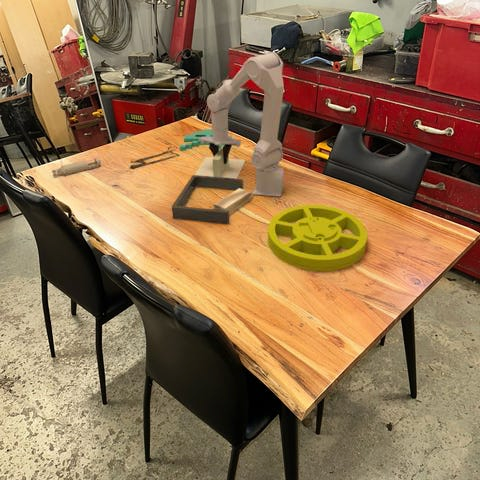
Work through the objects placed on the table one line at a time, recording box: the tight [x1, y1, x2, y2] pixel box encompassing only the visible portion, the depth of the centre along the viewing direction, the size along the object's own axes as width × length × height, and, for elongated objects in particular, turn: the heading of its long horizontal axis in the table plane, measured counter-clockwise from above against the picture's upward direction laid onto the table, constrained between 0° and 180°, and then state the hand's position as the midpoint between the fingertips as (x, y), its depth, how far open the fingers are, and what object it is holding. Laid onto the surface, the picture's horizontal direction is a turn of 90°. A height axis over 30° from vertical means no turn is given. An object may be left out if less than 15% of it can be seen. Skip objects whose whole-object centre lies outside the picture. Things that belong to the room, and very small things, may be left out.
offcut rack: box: [171, 174, 244, 225], centre depth 143 cm, size 18×22×4 cm
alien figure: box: [179, 128, 232, 152], centre depth 186 cm, size 20×2×20 cm
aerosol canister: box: [51, 157, 102, 177], centre depth 164 cm, size 18×5×7 cm, turn 122°
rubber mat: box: [194, 156, 247, 179], centre depth 164 cm, size 16×20×1 cm
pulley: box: [267, 204, 368, 272], centre depth 124 cm, size 28×28×5 cm
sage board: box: [212, 146, 230, 177], centre depth 161 cm, size 2×12×7 cm, turn 165°
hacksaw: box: [129, 146, 180, 170], centre depth 174 cm, size 24×10×2 cm, turn 125°
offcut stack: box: [212, 188, 254, 216], centre depth 142 cm, size 6×16×4 cm, turn 144°
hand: (221, 162), depth 162 cm, fingers open, 2 cm apart
